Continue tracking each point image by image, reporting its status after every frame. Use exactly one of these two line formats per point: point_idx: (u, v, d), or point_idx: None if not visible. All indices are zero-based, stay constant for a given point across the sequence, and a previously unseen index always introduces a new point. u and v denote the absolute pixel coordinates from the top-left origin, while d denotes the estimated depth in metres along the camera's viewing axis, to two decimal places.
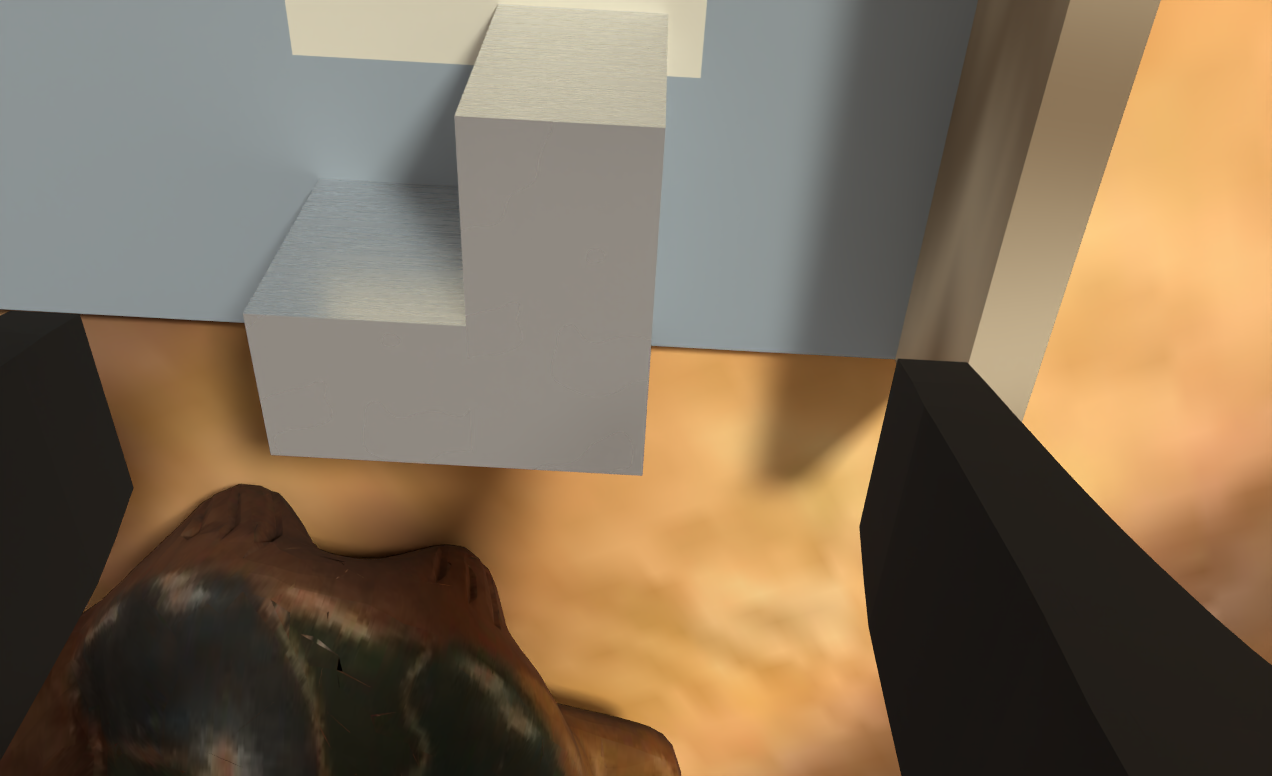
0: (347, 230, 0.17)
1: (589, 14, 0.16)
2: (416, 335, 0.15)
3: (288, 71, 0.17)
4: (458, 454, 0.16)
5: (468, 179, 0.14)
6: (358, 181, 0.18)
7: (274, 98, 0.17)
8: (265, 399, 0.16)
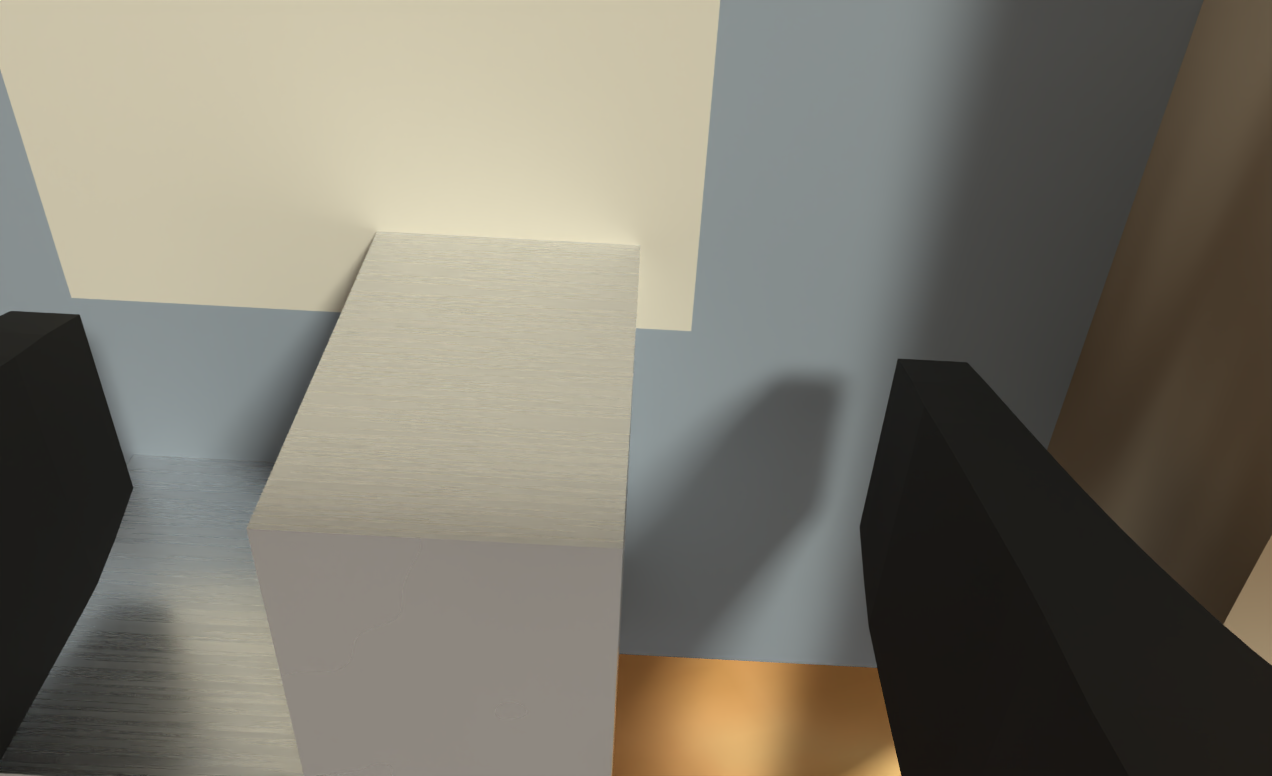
0: (154, 566, 0.11)
1: (516, 251, 0.10)
2: None
3: None
4: None
5: (284, 613, 0.08)
6: (190, 459, 0.12)
7: None
8: None
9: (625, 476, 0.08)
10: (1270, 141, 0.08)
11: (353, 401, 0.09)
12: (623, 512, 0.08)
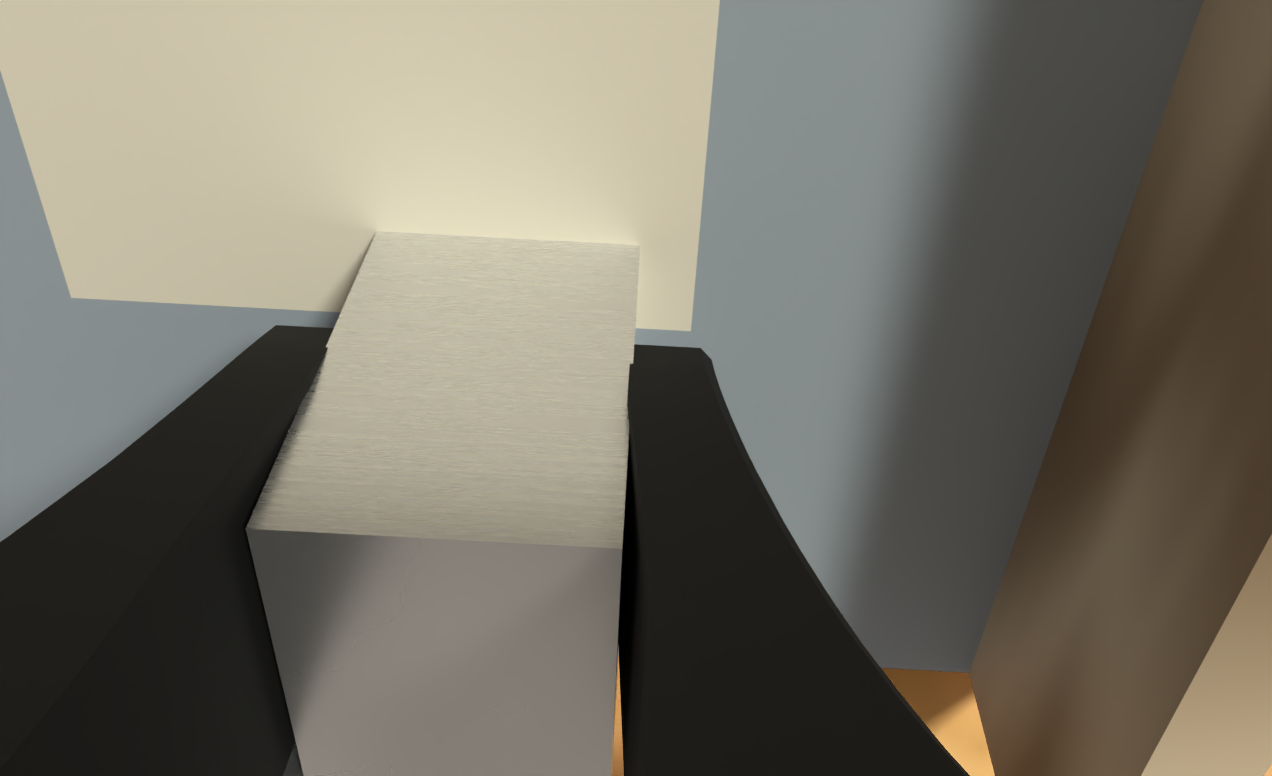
0: None
1: (516, 251, 0.10)
2: None
3: (67, 319, 0.11)
4: None
5: (283, 613, 0.08)
6: None
7: (52, 354, 0.12)
8: None
9: (625, 476, 0.08)
10: (1270, 141, 0.08)
11: (353, 401, 0.09)
12: (623, 512, 0.08)
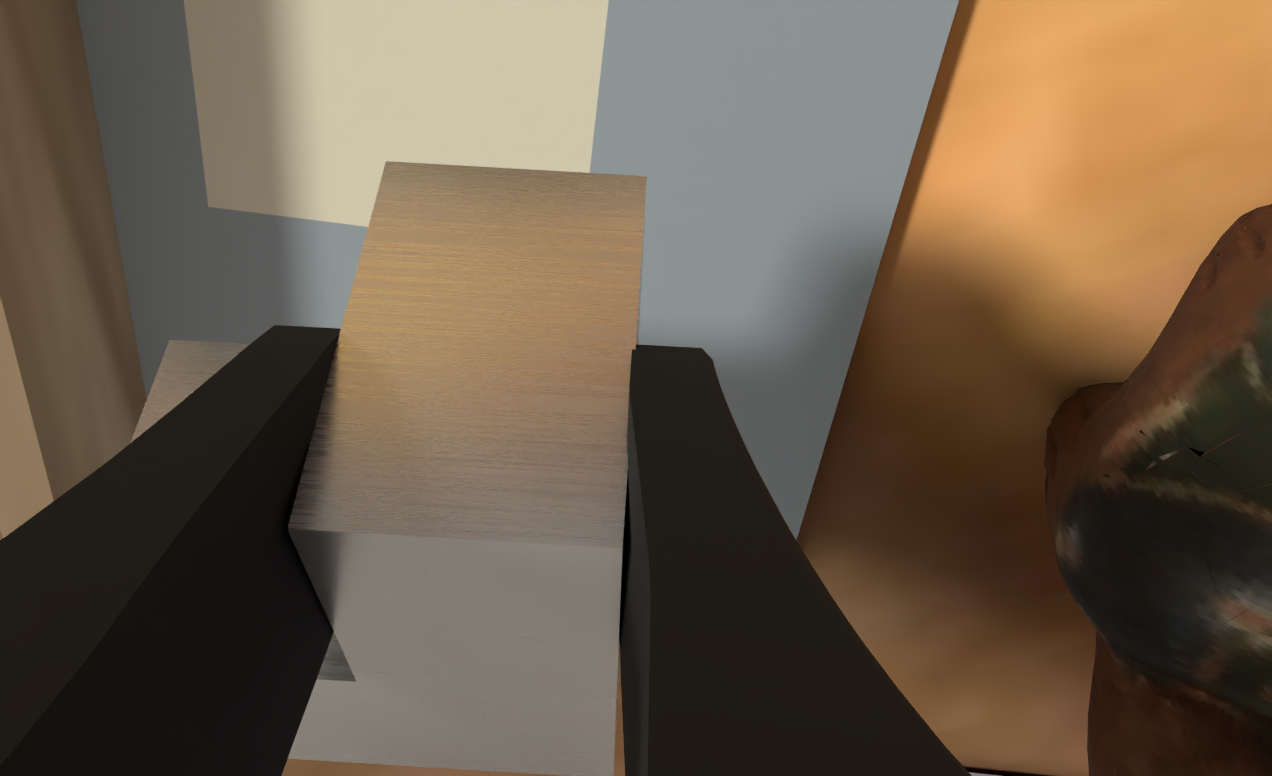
0: None
1: (524, 185, 0.11)
2: None
3: None
4: (373, 758, 0.13)
5: (325, 580, 0.09)
6: (223, 345, 0.13)
7: None
8: None
9: (626, 466, 0.09)
10: None
11: (374, 380, 0.09)
12: (623, 507, 0.09)
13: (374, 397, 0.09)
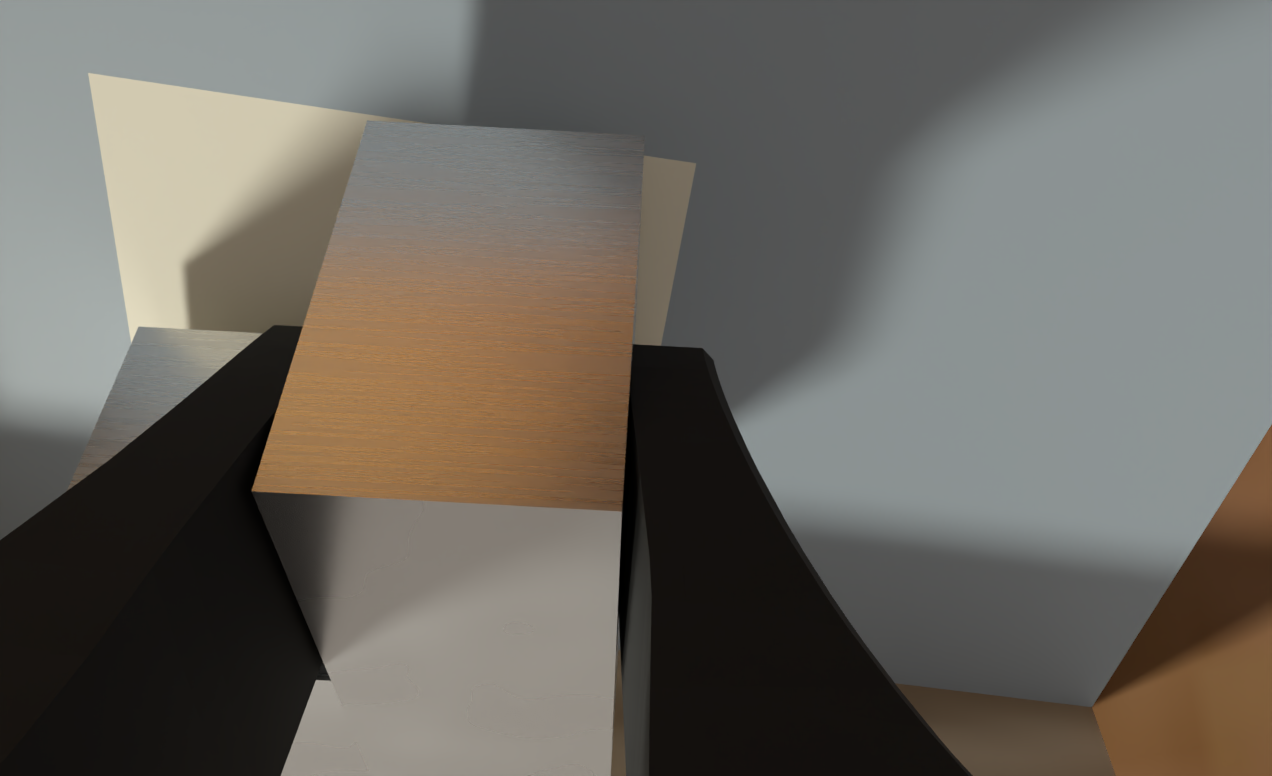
0: None
1: (514, 144, 0.10)
2: None
3: (710, 141, 0.11)
4: (349, 773, 0.12)
5: (295, 555, 0.08)
6: (195, 332, 0.12)
7: (746, 103, 0.11)
8: None
9: (625, 425, 0.08)
10: None
11: (350, 338, 0.08)
12: (623, 468, 0.08)
13: (350, 355, 0.08)
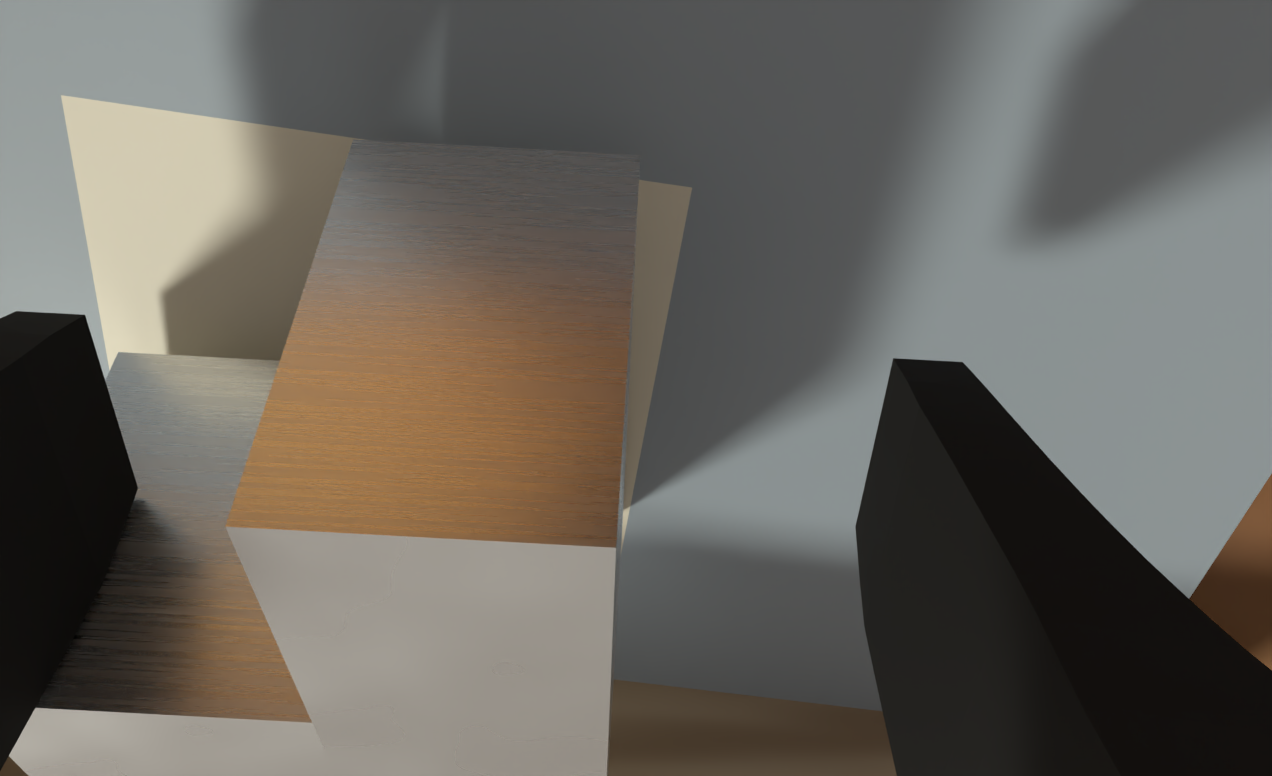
0: (147, 480, 0.11)
1: (505, 164, 0.10)
2: (237, 728, 0.10)
3: (706, 165, 0.11)
4: None
5: (272, 593, 0.08)
6: (176, 358, 0.12)
7: (744, 126, 0.11)
8: (31, 770, 0.11)
9: (619, 457, 0.08)
10: None
11: (332, 365, 0.08)
12: (617, 502, 0.07)
13: (331, 383, 0.08)
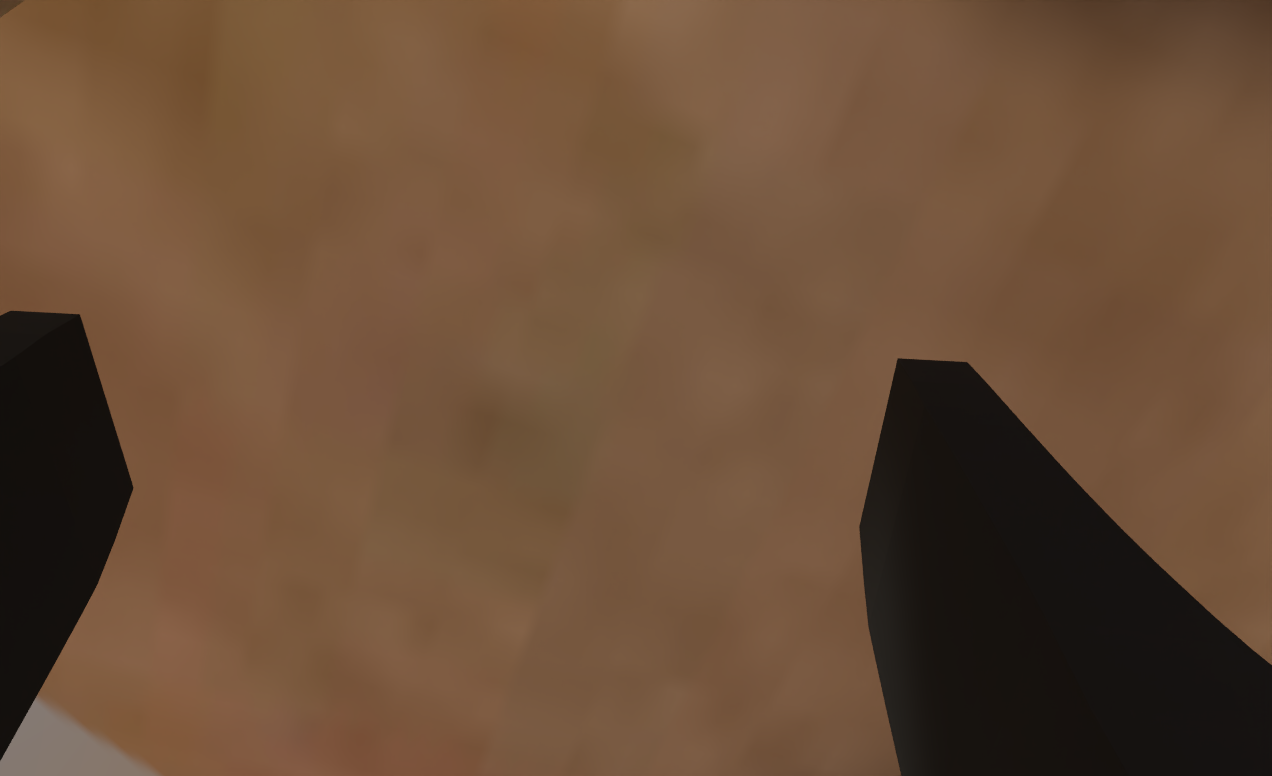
0: None
1: None
2: None
3: None
4: None
5: None
6: None
7: None
8: None
9: None
10: None
11: None
12: None
13: None
